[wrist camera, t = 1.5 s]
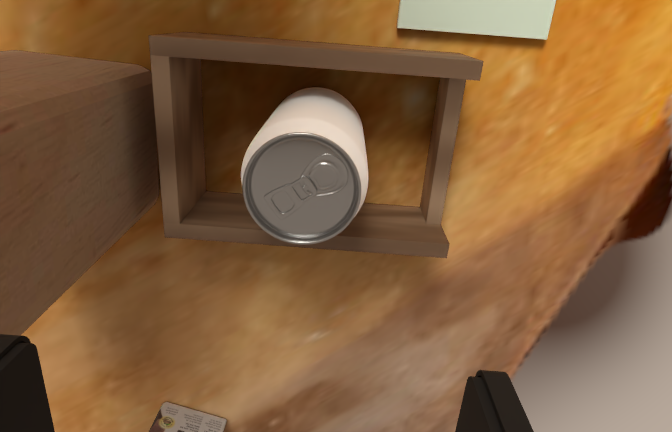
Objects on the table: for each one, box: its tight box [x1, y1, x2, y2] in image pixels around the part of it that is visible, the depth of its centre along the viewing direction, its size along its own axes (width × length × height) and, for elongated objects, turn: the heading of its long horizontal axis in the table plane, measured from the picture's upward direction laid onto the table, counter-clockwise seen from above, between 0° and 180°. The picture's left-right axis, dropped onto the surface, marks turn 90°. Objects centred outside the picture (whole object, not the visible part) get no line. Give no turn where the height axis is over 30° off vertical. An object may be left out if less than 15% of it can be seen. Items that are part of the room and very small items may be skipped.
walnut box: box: [149, 32, 483, 258], centre depth 30 cm, size 12×18×6 cm, turn 86°
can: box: [241, 87, 368, 245], centre depth 28 cm, size 6×6×12 cm
